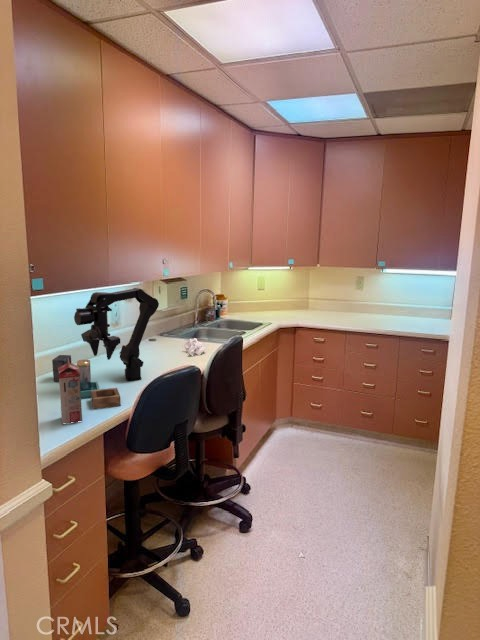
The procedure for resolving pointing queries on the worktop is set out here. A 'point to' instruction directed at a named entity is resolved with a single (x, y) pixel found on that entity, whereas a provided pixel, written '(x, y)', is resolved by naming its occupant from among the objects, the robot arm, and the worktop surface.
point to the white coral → (194, 347)
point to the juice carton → (70, 393)
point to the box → (59, 365)
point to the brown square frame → (105, 398)
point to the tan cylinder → (84, 374)
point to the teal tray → (88, 393)
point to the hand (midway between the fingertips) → (102, 357)
